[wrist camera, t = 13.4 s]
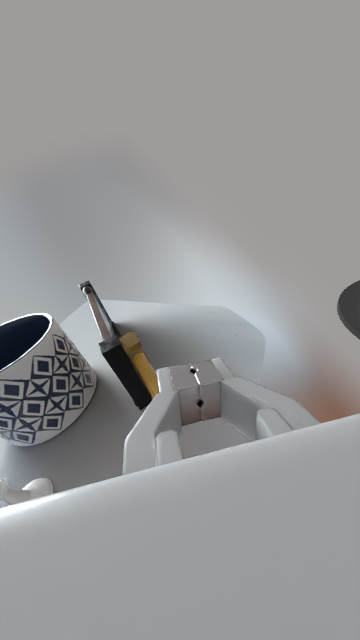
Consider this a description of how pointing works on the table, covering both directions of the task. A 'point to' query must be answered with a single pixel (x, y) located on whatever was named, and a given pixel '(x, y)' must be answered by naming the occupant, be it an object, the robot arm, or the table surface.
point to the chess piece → (25, 490)
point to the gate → (99, 315)
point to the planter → (40, 380)
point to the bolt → (147, 373)
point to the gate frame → (124, 360)
